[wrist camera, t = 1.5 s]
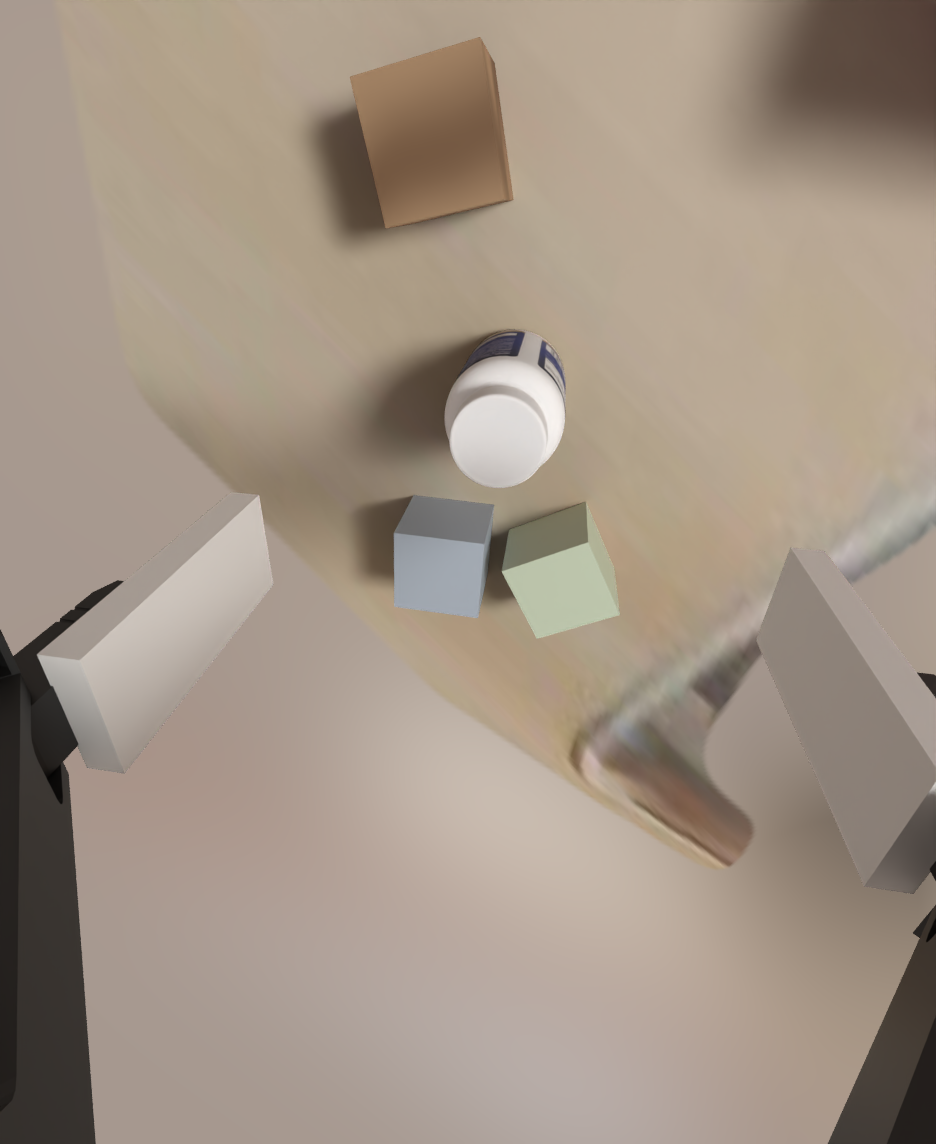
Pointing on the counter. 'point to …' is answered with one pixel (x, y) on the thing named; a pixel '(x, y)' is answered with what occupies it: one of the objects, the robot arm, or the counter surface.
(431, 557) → the slate blue cube
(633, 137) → the counter surface
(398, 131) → the walnut cube
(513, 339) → the pill bottle
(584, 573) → the sage cube
